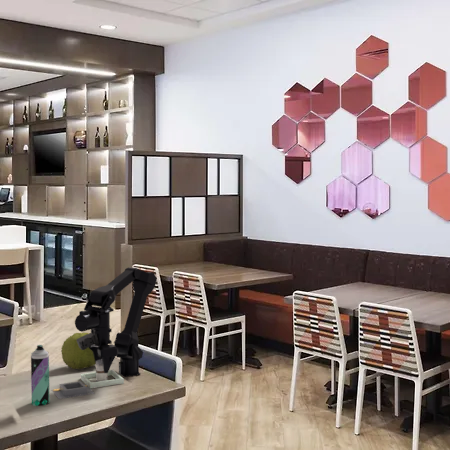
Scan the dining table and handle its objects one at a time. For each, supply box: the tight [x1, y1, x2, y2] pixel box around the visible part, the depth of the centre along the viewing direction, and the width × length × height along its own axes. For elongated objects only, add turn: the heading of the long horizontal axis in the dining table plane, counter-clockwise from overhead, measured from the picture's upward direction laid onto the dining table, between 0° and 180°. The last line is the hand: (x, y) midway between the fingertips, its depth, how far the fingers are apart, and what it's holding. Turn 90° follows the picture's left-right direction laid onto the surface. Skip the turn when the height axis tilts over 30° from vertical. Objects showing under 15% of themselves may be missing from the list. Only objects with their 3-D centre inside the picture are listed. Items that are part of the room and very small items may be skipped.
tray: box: [80, 369, 125, 389], centre depth 230 cm, size 12×12×3 cm
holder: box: [51, 380, 96, 400], centre depth 218 cm, size 12×10×4 cm
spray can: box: [30, 344, 51, 407], centre depth 207 cm, size 6×6×20 cm
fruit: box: [60, 332, 96, 370], centre depth 251 cm, size 16×14×15 cm
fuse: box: [95, 359, 109, 382], centre depth 230 cm, size 4×4×8 cm
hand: (101, 369), depth 230 cm, fingers open, 9 cm apart
